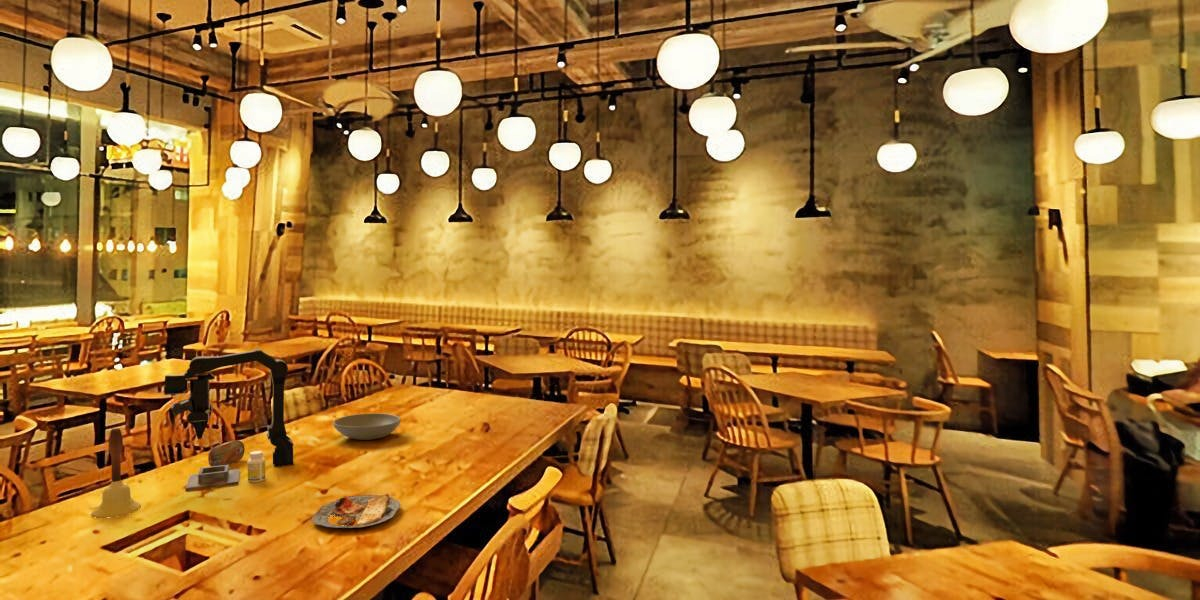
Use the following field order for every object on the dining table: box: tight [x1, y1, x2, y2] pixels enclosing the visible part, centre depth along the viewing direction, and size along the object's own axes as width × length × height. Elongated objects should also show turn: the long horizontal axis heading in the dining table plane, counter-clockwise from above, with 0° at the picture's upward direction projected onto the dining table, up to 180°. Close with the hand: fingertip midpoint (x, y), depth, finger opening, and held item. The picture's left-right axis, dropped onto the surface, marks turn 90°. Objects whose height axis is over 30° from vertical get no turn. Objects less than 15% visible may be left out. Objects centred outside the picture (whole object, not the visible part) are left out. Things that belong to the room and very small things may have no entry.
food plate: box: [311, 493, 402, 529], centre depth 186 cm, size 25×23×4 cm
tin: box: [207, 439, 246, 467], centre depth 232 cm, size 15×3×8 cm, turn 168°
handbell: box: [90, 427, 143, 519], centre depth 186 cm, size 12×12×25 cm
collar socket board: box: [185, 465, 240, 492], centre depth 214 cm, size 15×15×4 cm
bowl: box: [332, 412, 402, 441], centre depth 273 cm, size 27×28×8 cm
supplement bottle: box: [247, 450, 266, 483], centre depth 216 cm, size 5×5×10 cm
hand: (200, 435), depth 220 cm, fingers open, 9 cm apart
